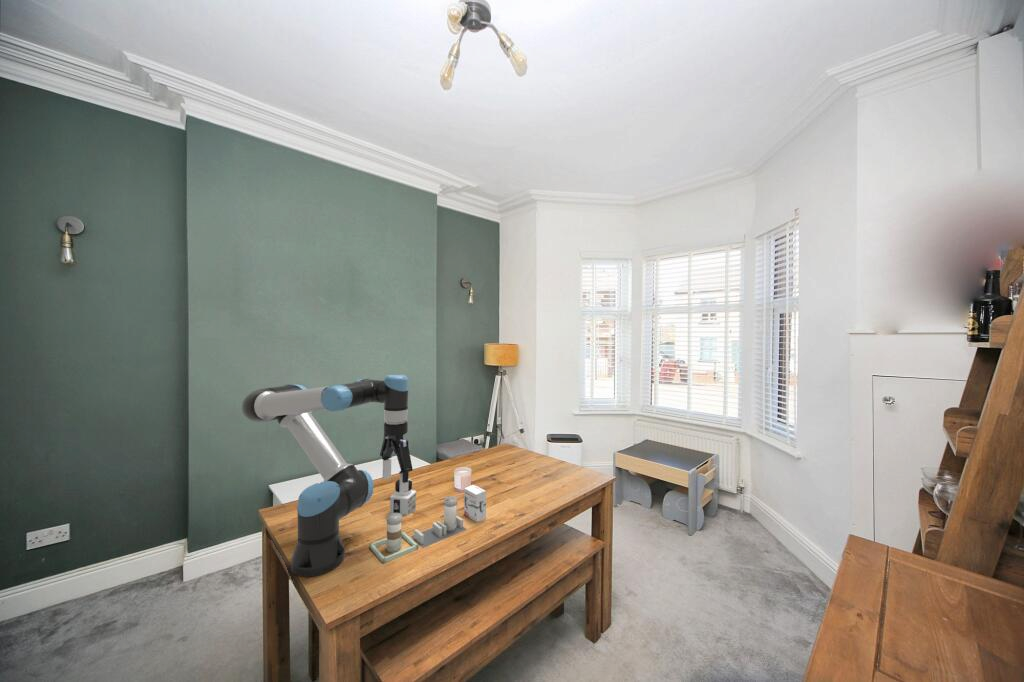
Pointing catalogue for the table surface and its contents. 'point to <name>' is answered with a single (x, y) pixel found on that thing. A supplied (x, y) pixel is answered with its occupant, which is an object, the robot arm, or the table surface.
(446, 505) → the cylinder
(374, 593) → the table surface
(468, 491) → the ink box
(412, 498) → the container
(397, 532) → the cylinder
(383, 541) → the parts tray
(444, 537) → the fuse block
